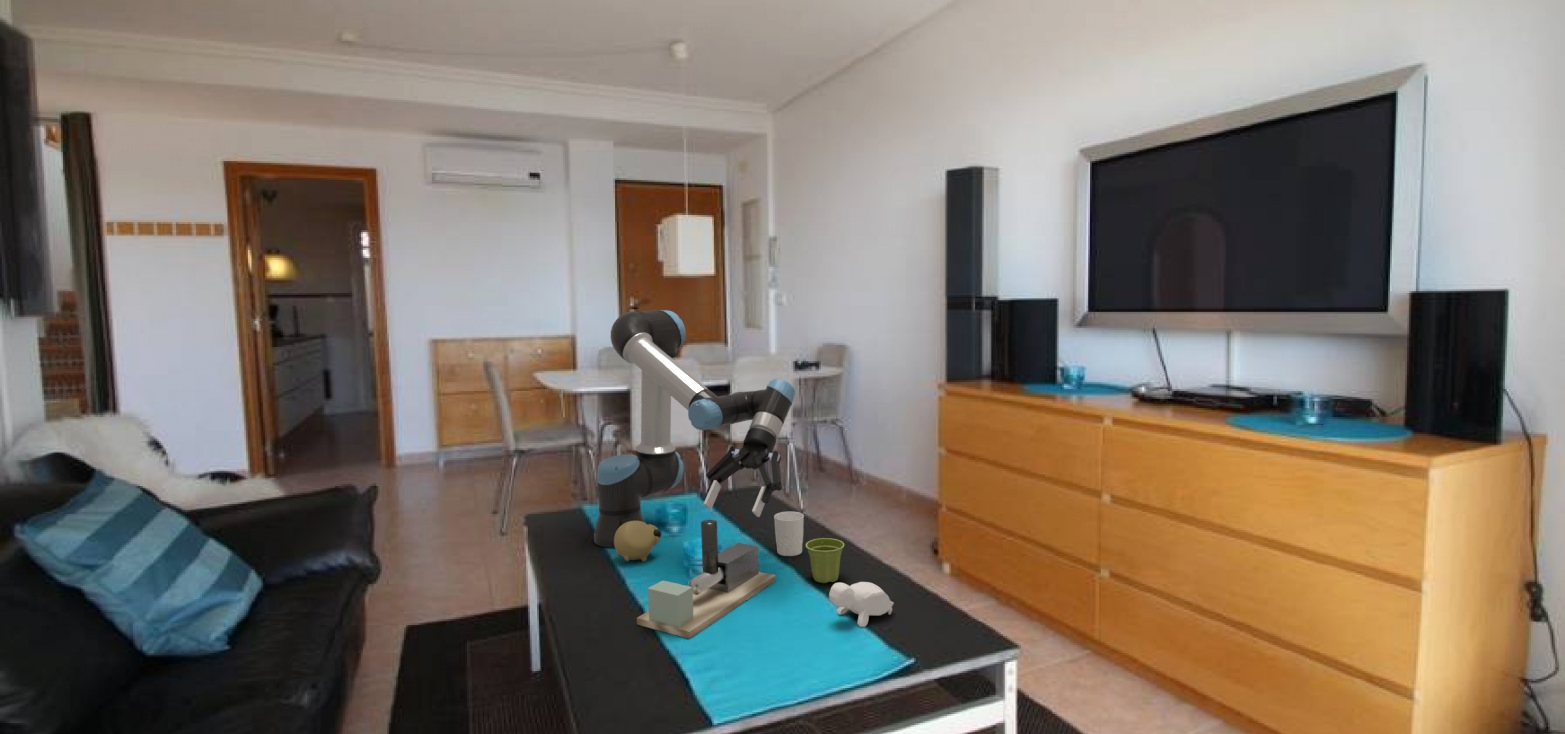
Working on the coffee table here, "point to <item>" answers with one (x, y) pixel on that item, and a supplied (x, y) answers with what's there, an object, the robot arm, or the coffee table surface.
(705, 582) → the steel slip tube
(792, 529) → the white cup
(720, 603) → the birch base board
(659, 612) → the socket block
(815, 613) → the coffee table surface
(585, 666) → the coffee table surface
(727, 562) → the outer sleeve
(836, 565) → the plant pot
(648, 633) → the coffee table surface
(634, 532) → the toy pig
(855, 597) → the white turtle figurine
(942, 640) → the coffee table surface
